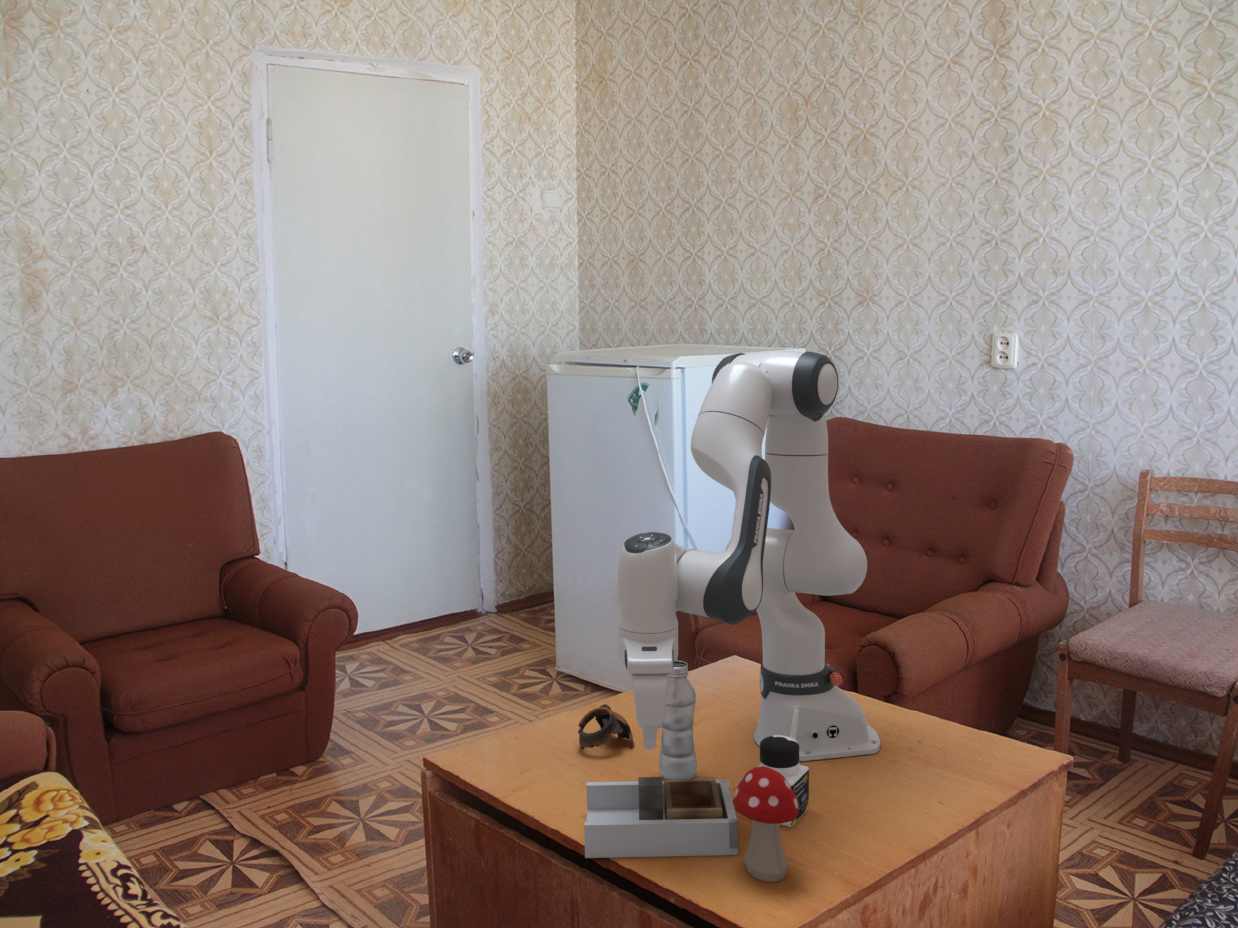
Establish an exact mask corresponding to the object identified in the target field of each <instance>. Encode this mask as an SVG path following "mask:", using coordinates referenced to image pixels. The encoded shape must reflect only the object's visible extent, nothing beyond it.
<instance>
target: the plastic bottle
mask: <svg viewBox="0 0 1238 928" xmlns="http://www.w3.org/2000/svg"><path fill="white" fill-rule="evenodd" d="M688 665H689V664H688V662H686V661H684V660H675V661H674V663H673V672H672V673H669V681H668V692H667V702H666V713H665V720H664V724H663V727H661V739H660V741H661V743H660V744H661V745H660V750H659V751H660V752H659V757H658V768H659V773H660V774H661V777H662V778H663V779H664V780H677V779H694V778H695V776H696V774H697V771H698V770H697V769H698V759H697V754H696V750H695V741H694V739H695V738H694V718H695V709H696V703H697V702H696V700H697V693H696V691H695V688H694V686H693V684H692V683H691V681H690V680H689V679H688V676H689V671H688V670H689V668H688V667H689V666H688Z"/></svg>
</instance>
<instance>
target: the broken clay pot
mask: <svg viewBox="0 0 1238 928" xmlns="http://www.w3.org/2000/svg"><path fill="white" fill-rule="evenodd" d="M593 719H595V721H596V722H597V724H598V725H599V727H600V729H599V730H596V731H595V732H589V733H587V732H585V731H584V730H585V728H586V726H587V724H588V723H590V722H591V721H592V720H593ZM578 727H579V729H578V730H577V733H578V735H579V737H578V743H579V746H580V748H581V749H582V750H584V748H590V749H592V748H595V747H600V746H601V745H604V744H606V745H612V743H611V738H610V735H611V734H613V735H614V734H615V735H617V739H621V740H622V739H626V740H628V741H629V743H630V748H631V749H634V748H635V742H634V737H633V732H632V730H631V727H630V725H629V723H628V721H627V720H626V719H625V718H624V717H623V715H621V714H620V713H618V712H616V711H613V710H612V708H611V706H609V704H606V703H604V704H602V705H600V706H599V707H596V708H594V709H592V710H589V712H587V713H586V714H584V716H583V717H582V718H581V720H580V721H579V722H578Z"/></svg>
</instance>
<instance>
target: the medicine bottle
mask: <svg viewBox="0 0 1238 928" xmlns="http://www.w3.org/2000/svg"><path fill="white" fill-rule="evenodd" d="M757 767H769V768H772V769H774V770H776V771H778V772H779V773H780V774H782V775H783V776H784V778H785V779H786V780H787V782H788V783H789V785H790V787H791V789H792V791H793V792H794V793H795V795H796V797H797V799H798V803H799V812H798V815H797V817H796V818H795V819H794V820H792V821H790V822H786V823H781V824H779V826H780V825H781V826H784V827H788V828H792V827H794V825H795V824H796V823H797V822H798V821H799V820H800V819H801V818H802V817H803V816H804V814H805V813H807V811H808V810H809V808H810V767H809V766H807V765H802V764H800V761H799V743H798V742H797V741H796V740H795V739H793V738H790V737H787V736H782V735H774V736H769V737H766V738H764V739H763V740H762V741H761V742H760V746H759V766H757Z"/></svg>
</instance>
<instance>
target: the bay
mask: <svg viewBox="0 0 1238 928" xmlns="http://www.w3.org/2000/svg"><path fill="white" fill-rule="evenodd" d="M715 780H716V784H717V789H718V793H719V798H720V802H721V806H722V819H679V820H665V813H664V780H662V781H663V820H639V793H638V780H636V781H633V780H632V781H587V782H586V821H584V826H583V827H584V828H583V829H584V832H583V833H584V834H583V835H584V858H585V859H604V858H605V859H607V858H609V859H611V858H650V857H651V858H655V857H656V858H657V857H659V858H661V857H701V856H703V857H706V856H707V857H708V856H710V857H711V856H712V857H714V856H739V855H738V854H739V852H738V851H739V848H738V845H739V844H738V842H739V841H738V840H739V839H738V835H739V834H738V833H739V831H738V830H739V829H738V826H739V825H738V824H739V823H738V819H737V815H736V811H735V810H736V809H735V807H734V804H733V797H732V794H731V791H730V787H729V782H728V780H727V779H715Z"/></svg>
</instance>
